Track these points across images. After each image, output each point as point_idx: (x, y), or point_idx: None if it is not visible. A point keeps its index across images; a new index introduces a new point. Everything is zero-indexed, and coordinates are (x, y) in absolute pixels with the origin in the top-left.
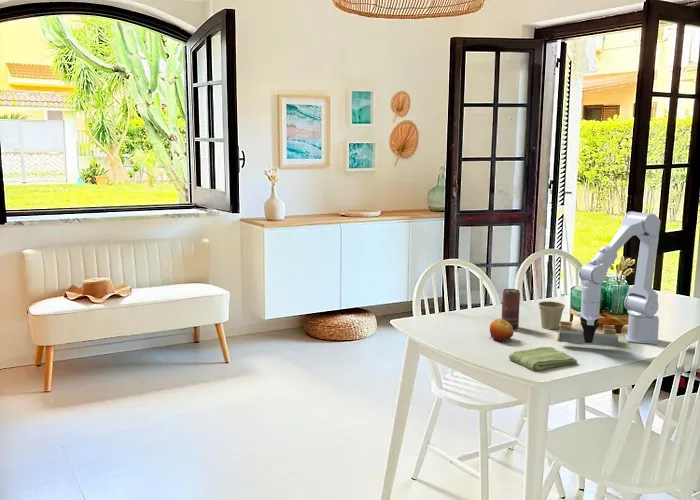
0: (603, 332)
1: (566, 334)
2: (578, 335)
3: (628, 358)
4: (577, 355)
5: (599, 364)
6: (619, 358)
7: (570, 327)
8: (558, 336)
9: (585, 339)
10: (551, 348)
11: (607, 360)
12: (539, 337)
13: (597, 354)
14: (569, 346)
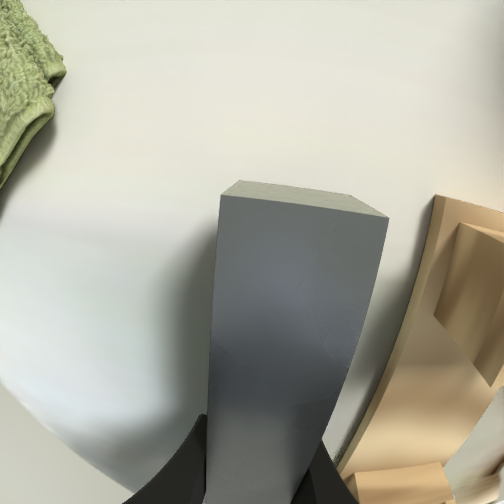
0: (405, 502)
1: (214, 299)
2: (208, 419)
3: (141, 483)
4: (68, 297)
5: (5, 362)
6: (123, 462)
7: (490, 372)
8: (499, 221)
9: (190, 435)
10: (1, 110)
11: (68, 414)
12: (493, 67)
13: (139, 411)
14: None
